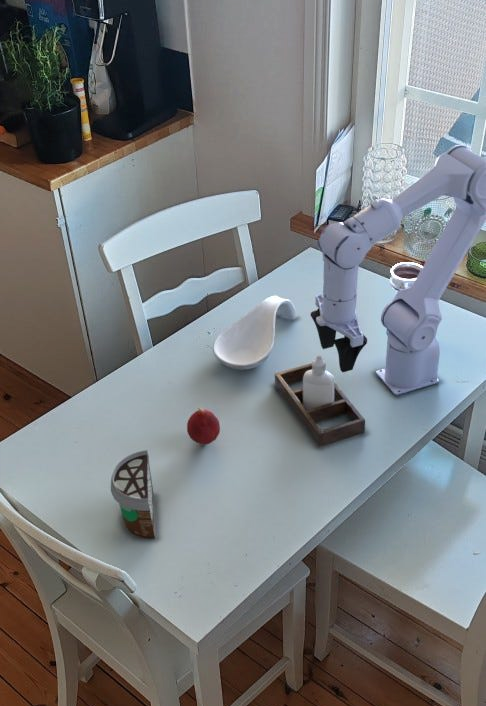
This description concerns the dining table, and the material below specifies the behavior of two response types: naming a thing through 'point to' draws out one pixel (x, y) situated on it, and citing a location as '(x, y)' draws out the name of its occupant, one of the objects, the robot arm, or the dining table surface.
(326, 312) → the robot arm
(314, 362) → the eye dropper bottle
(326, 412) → the spice rack
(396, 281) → the white round hollow piece
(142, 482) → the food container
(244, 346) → the spoon rest
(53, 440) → the dining table surface
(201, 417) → the onion
